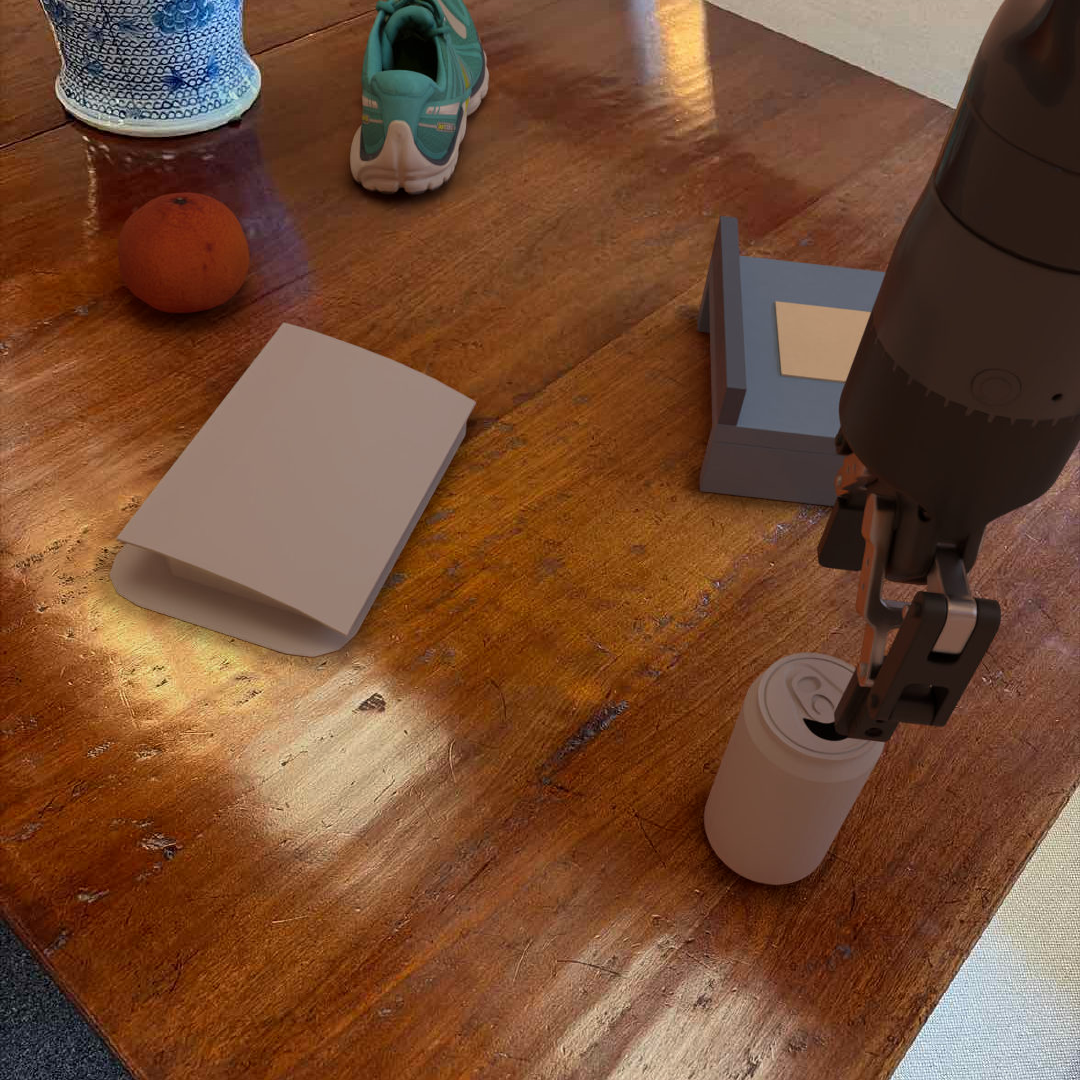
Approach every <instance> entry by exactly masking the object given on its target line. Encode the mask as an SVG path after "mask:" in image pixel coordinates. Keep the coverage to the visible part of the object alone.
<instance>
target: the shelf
mask: <svg viewBox="0 0 1080 1080" xmlns="http://www.w3.org/2000/svg"><path fill="white" fill-rule="evenodd" d="M738 221H739V220H738V217H735V216H728V215H727V216H725V215H720V216H719V220H718V225H717V230H716V234H715V237H714V242H713V246H712V250H711V251H712V252H711V255H710V260H709V263H708V269H707V273H706V279H705V283H704V288H703V292H702V297H701V300H700V305H699V309H698V313H697V319H696V322H697V323H696V325H697V326H696V328H697V329H696V331H697V332H698V333H706V334H707V333H708V334H709V339H710V340H709V342H710V345H709V346H710V347H709V348H710V383H711V385H710V388H711V419H712V421H711V422H712V423H711V425H712V426H711V430H710V432H709V437H708V441H707V446H706V448H705V453H704V457H703V461H702V464H701V468H700V472H699V492H702V493H712V494H719V495H720V494H721V495H728V496H736V497H737V496H739V497H747V498H756V499H765V500H775V501H782V502H791V503H799V504H800V503H801V504H807V505H817V506H825V507H834V504H835V502H836V499H837V497H841V496H837V495H836V487H835V486H834V481H835V477H836V475H837V474H838V471H839V469H840V467H842V466H843V459H844V457H846V456H845V455H838V454H837V453H836V446H835V437H836V434H838V431H839V428H840V426H841V425H840V419H839V401H840V396H841V393H842V390H843V387H844V384H845V382H846V379H847V376H848V374H849V371H850V368H851V365H852V363H853V360H854V357H855V355H856V352H857V349H858V346H859V344H860V341H861V338H862V336H863V333H864V330H865V327H866V325H867V322H868V319H869V317H870V314H871V311H872V308H873V306H874V303H875V300H876V297H877V295H878V292H879V289H880V286H881V284H882V281H883V278H884V275H885V273H886V271H878V270H868V269H861V268H852V267H843V266H834V265H825V264H817V263H809V262H800V261H792V260H791V261H790V260H781V259H775V258H773V259H772V258H766V257H765V258H764V257H756V256H747V255H740V242H739V241H740V240H739V239H740V238H739V223H738Z"/></svg>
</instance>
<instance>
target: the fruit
mask: <svg viewBox="0 0 1080 1080" xmlns="http://www.w3.org/2000/svg"><path fill="white" fill-rule="evenodd" d="M240 223H241V222H239V220H238V219H237V217H236V215H235V214H234V213H233V211H232V210H231V209H230V208H229V207H228V206H226V204H224V203H223V202H221V201H219V200H217V199H215V198H214V197H212V196H209V195H206V194H204V193H203V194H202V193H198V192H191V191H190V192H188V191H187V192H175V193H168V194H161V195H160V196H157V197H155V198H153V199H151V200H149V201H147V202H146V203H144V204H143V205H142V206H141V207H140V208H138V209H137V210H135V211H134V212H133V213H131V215H130V216H129V217H128V218H127V220H126V221H125V223H124V224H123V226H122V228H121V231H120V233H119V237H118V245H117V259H118V266H119V267H118V268H119V272H120V276H121V279H122V280H123V282H124V284H125V285H126V287H127V289H128V290H129V291H130V293H132V294H133V295H134V296H135V297H136V298H137V299H139V300H141V301H142V302H144V303H145V304H146V305H148V306H149V307H151V308H153V309H155V310H158V311H161V312H164V313H171V314H174V313H175V314H189V313H199V312H203V311H208V310H211V309H215V308H216V307H219V306H221V305H223V304H225V303H226V302H228V301H229V300H231V299H232V298H233V297H234V296H235V295H236V294H237V293H238V291H240V290H241V287H242V286H243V284H244V282H245V280H246V277H247V274H248V270H249V265H250V249H249V244H248V240H247V237H246V235H245V233H244V230H243V227H242V225H241V224H240Z"/></svg>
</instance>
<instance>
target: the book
mask: <svg viewBox="0 0 1080 1080" xmlns="http://www.w3.org/2000/svg"><path fill="white" fill-rule="evenodd" d="M476 404H477V401H475V400H474V399H472V398H470V397H468V396H467V395H465V394H463V393H461V392H459V391H457V390H456V389H454V388H452V387H450V386H449V385H447V384H445V383H443V382H441V381H440V380H437V379H436V378H433V377H432V376H429V375H427V374H425V373H423V372H421V371H418V370H416V369H414V368H411V367H410V366H407V365H406V364H403V363H401V362H398V361H396V360H394V359H391V358H389V357H386V356H384V355H381V354H380V353H379V354H378V353H376V352H373V351H371V350H368V349H366V348H363V347H360V346H358V345H355V344H353V343H349V342H346V341H344V340H341V339H338V338H337V337H336V338H335V337H333V336H330V335H326V334H324V333H321V332H318V331H315V330H313V329H309V328H306V327H301V326H299V325H295V324H292V323H288V322H282V324H280V326H279V328H278V329H277V330H276V331H275V333H274V334H273V335H272V337H270V339H269V340H268V342H267V343H266V344H265V345H264V347H263V348H262V349H261V351H260V352H259V353H258V355H257V356H256V357H255V359H254V360H252V362H251V364H250V365H249V366H248V367H247V369H246V370H245V372H244V373H243V374H242V375H241V376H240V378H239V379H238V381H236V383H235V384H234V385H233V387H231V389H230V391H229V392H228V393H227V394H226V396H225V397H224V399H222V401H221V402H220V403H219V405H218V406H217V408H216V409H215V410H214V411H213V413H212V414H211V415H210V417H209V418H208V419H207V420H206V421H205V423H204V424H203V426H202V427H201V428H200V430H199V431H198V432H197V433H196V435H195V436H194V437H193V438H192V439H191V441H190V442H189V443H188V445H187V446H186V448H185V449H184V450H183V451H182V452H181V454H180V455H179V457H178V458H177V459H176V460H175V462H174V463H173V464H172V465H171V467H170V468H169V470H168V471H167V472H166V473H165V474H164V476H163V477H162V478H161V480H160V481H159V482H158V483H157V485H156V486H155V488H154V489H153V490H152V491H151V493H150V494H149V495H148V496H147V498H146V499H145V500H144V502H143V503H142V504H141V505H140V507H139V508H138V509H137V510H136V512H135V513H134V515H132V517H131V518H130V520H128V522H127V523H126V525H125V526H124V528H122V530H121V531H120V532H119V534H118V535H117V536H116V538H115V540H116V541H117V542H120V543H123V544H124V545H123V546H122V548H121V549H120V550H119V552H118V553H117V554H116V556H115V557H114V560H113V564H112V566H111V569H110V571H109V575H108V577H109V578H110V580H111V583H112V585H113V587H114V590H115V591H116V593H117V595H119V596H121V597H122V598H124V599H126V600H127V601H129V602H130V603H132V604H134V605H136V606H137V607H140V608H143V609H146V610H149V611H152V612H155V613H159V614H161V615H163V616H164V615H165V616H168V617H171V618H174V619H177V620H180V621H183V622H186V623H189V624H192V625H195V626H199V627H201V628H203V629H208V630H211V631H213V632H217V633H220V634H222V635H226V636H229V637H232V638H235V639H239V640H241V641H245V642H247V643H251V644H254V645H257V646H260V647H263V648H266V649H270V650H273V651H275V652H279V653H282V654H284V655H292V656H299V657H300V656H301V657H309V658H317V657H319V656H323V655H326V654H327V655H328V654H330V653H333V652H337V651H340V650H341V649H342V648H344V647H345V645H347V644H348V643H349V642H350V641H351V640H352V639H353V638H354V637H356V635H357V634H358V632H359V630H360V628H361V627H362V624H363V623H364V622H365V619H366V617H367V615H368V613H369V612H370V610H371V608H372V606H373V604H374V603H375V601H376V599H377V598H378V595H379V593H380V592H381V590H382V588H383V586H384V584H385V582H386V580H387V579H388V578H389V575H390V573H391V572H392V570H393V568H394V566H395V564H396V563H397V561H398V559H399V557H400V555H401V554H402V552H403V550H404V547H405V546H406V544H407V543H408V540H409V539H410V537H411V535H412V533H413V531H414V529H415V528H416V526H417V525H418V522H419V520H420V519H421V517H422V516H423V513H424V511H425V510H426V507H427V506H428V505H429V502H430V501H431V498H432V497H433V495H434V493H435V492H436V490H437V487H438V486H439V485H440V482H441V481H442V479H443V477H444V475H445V474H446V471H447V470H448V468H449V466H450V464H451V462H452V460H453V459H454V456H455V455H456V453H457V451H458V450H459V448H460V445H461V444H462V442H463V440H464V439H465V437H466V433H467V425H468V424H467V422H468V419H469V417H470V416H471V414H472V412H473V410H474V408H475V406H476Z"/></svg>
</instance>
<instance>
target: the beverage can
mask: <svg viewBox="0 0 1080 1080" xmlns="http://www.w3.org/2000/svg"><path fill="white" fill-rule="evenodd" d="M855 669H856V667H855V666H854V665H852V664H850V663H849V662H848V661H845V660H844V659H841V658H839V657H835V656H833V655H829V654H825V653H821V652H820V653H819V652H811V651H810V652H809V651H808V652H797V653H793V654H788V655H785V656H784V657H781V658H779V659H778V660H776V661H775V662H773V663H772V664H771V665H770V666H769V667H768V668H767V669H766V670H764V671H763V672H762V673H761V674H759V675H758V676H757V677H756V678H755V679H754V680H753V681H752V682H751V684H750V686H749V688H748V690H747V692H746V694H745V697H744V699H743V702H742V705H741V708H740V710H739V713H738V716H737V718H736V720H735V724H734V726H733V728H732V729H733V730H732V732H731V735H730V738H729V740H728V743H727V745H726V748H725V751H724V753H723V756H722V759H721V762H720V764H719V768H718V770H717V773H716V776H715V778H714V781H713V783H712V787H711V789H710V793H709V795H708V797H707V800H706V803H705V806H704V810H703V811H704V813H703V823H704V830H705V834H706V837H707V840H708V841H709V842H708V843H709V844H710V846H711V848H712V850H713V852H714V853H715V855H716V856H717V857H718V858H719V859H720V860H721V862H723V863H724V864H725V865H726V866H727V867H728V868H729V869H730V870H732V872H735V873H736V874H738V875H739V876H741V877H743V878H745V879H746V880H747V879H748V880H750V881H753V882H756V883H759V884H764V885H765V884H766V885H772V886H773V885H774V886H775V885H776V886H780V885H788V884H792V883H795V882H796V883H797V882H798V881H800V880H803V879H805V878H806V877H808V876H809V875H811V874H812V873H814V872H815V870H816V869H817V868H818V867H819V866H820V864H821V863H822V862H823V860H824V859H825V856H826V855H827V853H828V851H829V850H830V847H831V846H832V843H834V840H835V839H836V837H837V835H838V833H839V831H840V830H841V827H842V826H843V824H844V822H845V820H846V818H847V816H848V815H849V813H850V812H851V810H852V808H853V806H854V804H855V802H856V801H857V798H858V797H859V795H860V793H861V792H862V790H863V788H864V786H865V784H866V783H867V781H868V779H869V777H870V775H871V773H872V772H873V770H874V768H875V767H876V764H877V762H878V761H879V760H880V757H881V755H882V753H883V752H884V747H885V743H886V742H878V741H869V740H861V739H852V738H848V736H845V735H841V734H839V733H837V732H836V730H835V720H834V712H835V710H836V708H837V706H838V704H839V702H840V700H841V698H842V696H843V694H844V691H845V689H846V687H847V685H848V683H849V681H850V679H851V677H852V675H853V673H854V671H855Z"/></svg>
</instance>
